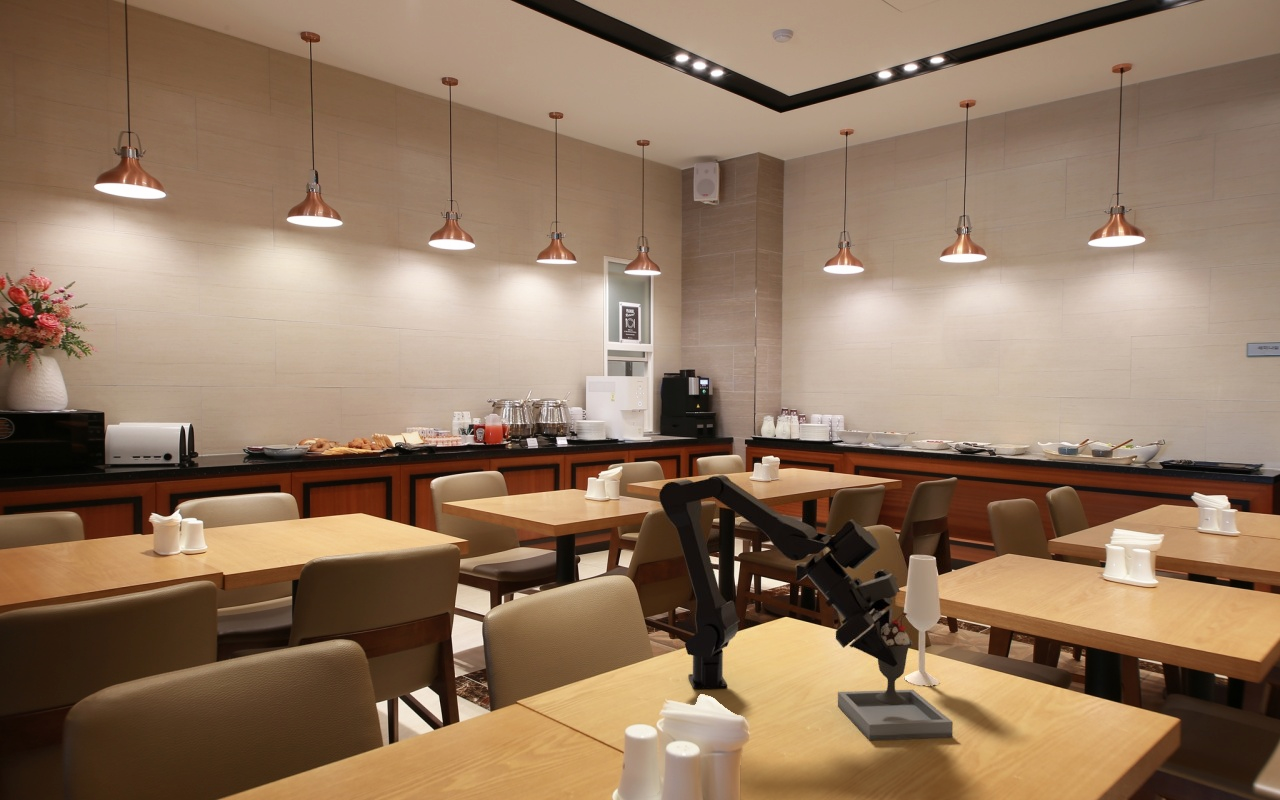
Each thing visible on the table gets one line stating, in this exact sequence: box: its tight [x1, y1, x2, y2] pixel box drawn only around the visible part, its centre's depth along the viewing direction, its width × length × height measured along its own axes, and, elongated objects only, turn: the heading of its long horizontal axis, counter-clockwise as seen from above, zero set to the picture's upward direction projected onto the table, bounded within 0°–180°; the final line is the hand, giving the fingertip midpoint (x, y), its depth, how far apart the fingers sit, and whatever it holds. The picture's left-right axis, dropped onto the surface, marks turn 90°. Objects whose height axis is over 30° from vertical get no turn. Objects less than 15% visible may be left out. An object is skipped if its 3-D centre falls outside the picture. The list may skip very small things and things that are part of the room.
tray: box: [837, 689, 954, 741], centre depth 132 cm, size 14×14×2 cm
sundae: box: [876, 611, 914, 705], centre depth 132 cm, size 7×7×15 cm
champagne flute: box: [903, 554, 942, 686], centre depth 151 cm, size 7×7×24 cm
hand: (900, 659), depth 131 cm, fingers closed on sundae, 6 cm apart
